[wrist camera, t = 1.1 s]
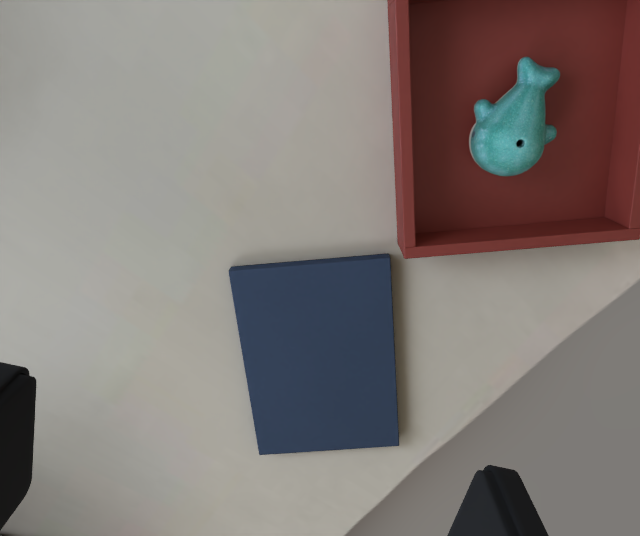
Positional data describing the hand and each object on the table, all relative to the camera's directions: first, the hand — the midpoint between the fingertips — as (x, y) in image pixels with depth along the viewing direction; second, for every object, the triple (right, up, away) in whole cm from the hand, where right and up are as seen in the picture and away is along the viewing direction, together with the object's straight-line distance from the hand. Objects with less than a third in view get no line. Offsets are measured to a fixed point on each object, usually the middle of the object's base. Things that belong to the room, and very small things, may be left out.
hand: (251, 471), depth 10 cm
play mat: (+1, -3, +30) cm, 30 cm away
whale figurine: (+14, +14, +23) cm, 31 cm away
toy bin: (+14, +15, +24) cm, 31 cm away
